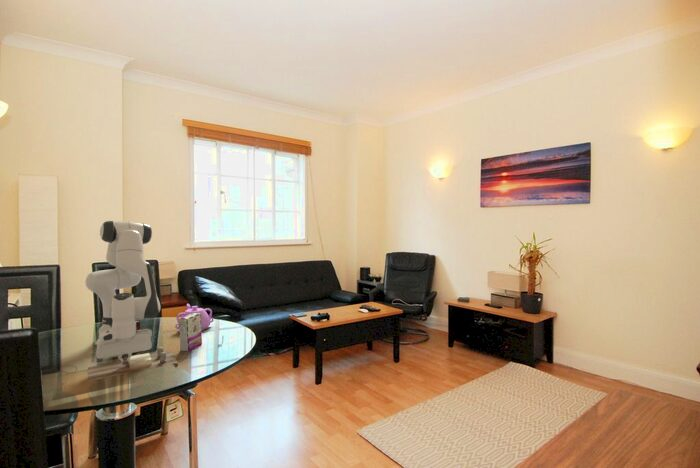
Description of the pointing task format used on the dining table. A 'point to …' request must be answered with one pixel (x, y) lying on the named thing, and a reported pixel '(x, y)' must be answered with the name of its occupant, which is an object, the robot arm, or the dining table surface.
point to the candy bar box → (190, 331)
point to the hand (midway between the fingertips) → (125, 364)
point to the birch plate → (140, 361)
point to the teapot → (204, 316)
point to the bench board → (119, 369)
